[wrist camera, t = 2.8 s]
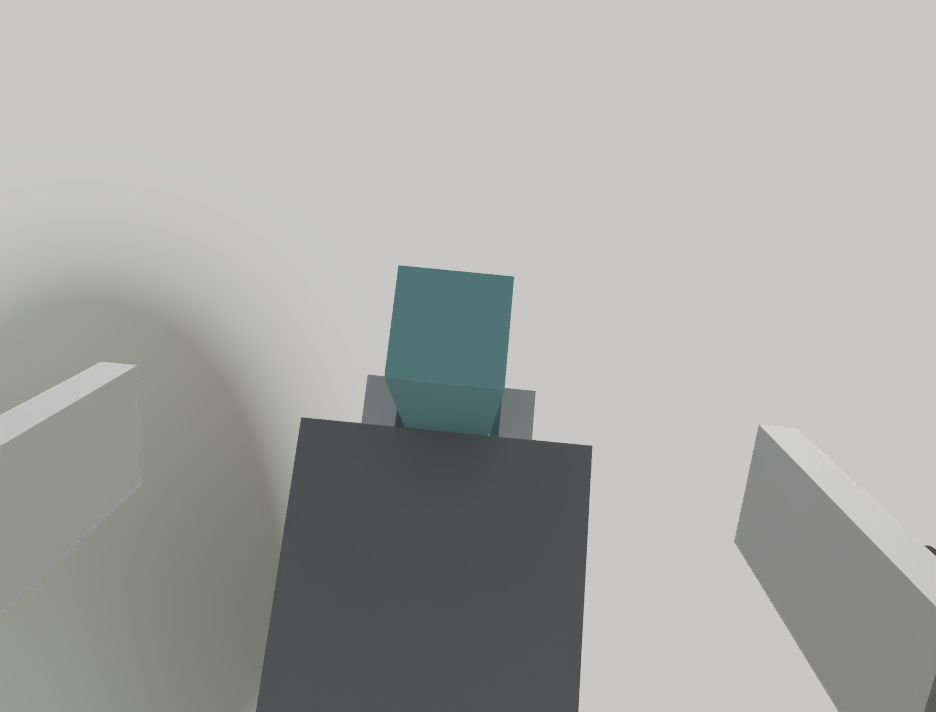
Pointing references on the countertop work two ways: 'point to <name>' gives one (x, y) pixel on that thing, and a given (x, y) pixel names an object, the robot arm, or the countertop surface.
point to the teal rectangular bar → (448, 348)
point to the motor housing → (429, 567)
